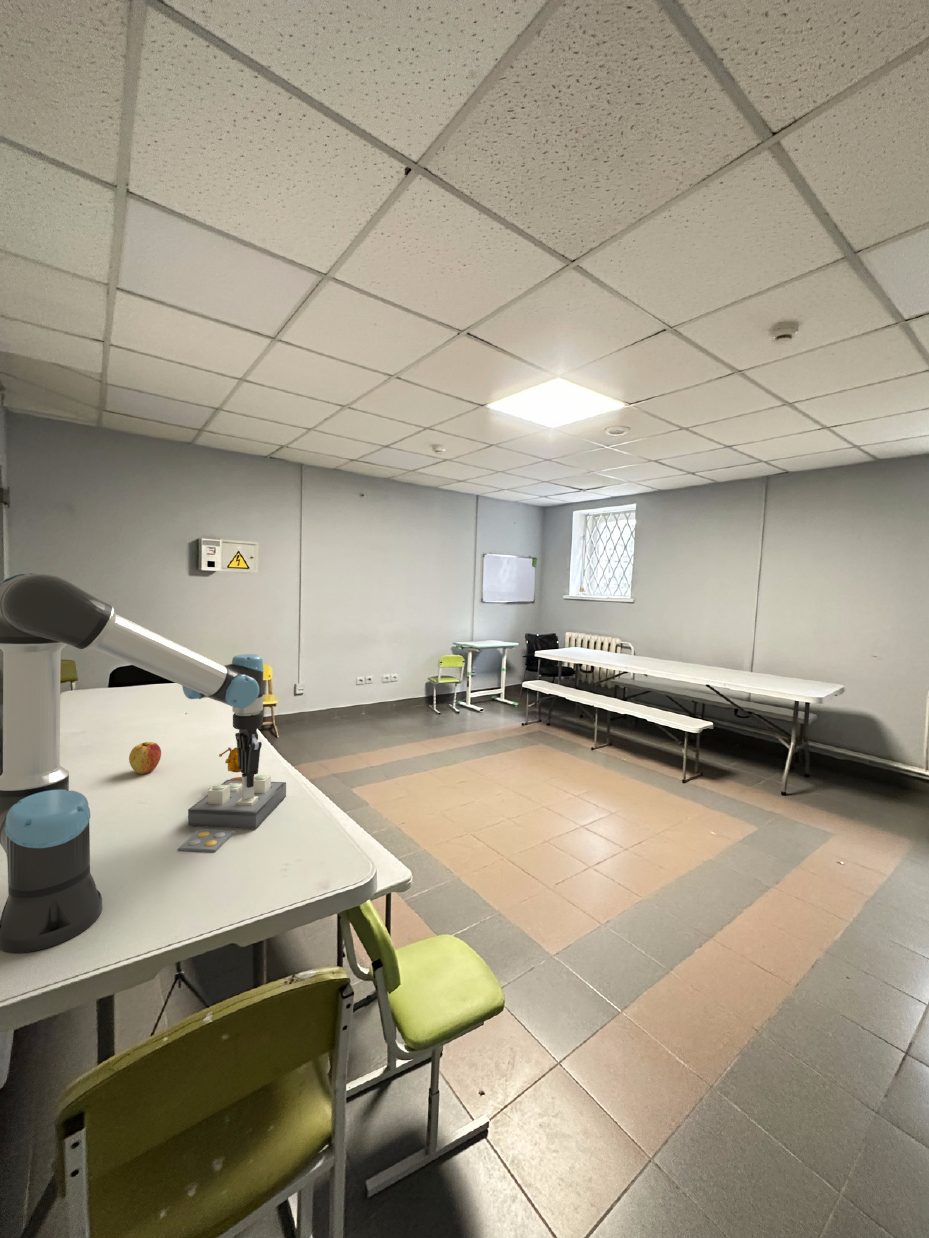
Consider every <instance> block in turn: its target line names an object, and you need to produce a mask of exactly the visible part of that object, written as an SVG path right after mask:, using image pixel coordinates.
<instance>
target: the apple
mask: <svg viewBox="0 0 929 1238" xmlns="http://www.w3.org/2000/svg"><path fill="white" fill-rule="evenodd" d="M161 757H162V750H161V747H160V745H159V744H158V743H156V742H154V741H145V742H141V743H139V744H136V746H134V747H133V748H132V749H131V751H130V752H129V757H128V762H129V765H130V767H131V768H132V769H133V771H134V772H135V773H136V774H139V775H145V774H148V773H152V772H154V770H155V769H156V768H157V767H158V765H159V763H160V761H161Z"/></svg>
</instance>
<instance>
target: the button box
mask: <svg viewBox="0 0 929 1238" xmlns="http://www.w3.org/2000/svg"><path fill="white" fill-rule="evenodd" d="M230 783H239V784H242V780H230V779H226V780H225V781H224V782H222V783H221V784H220V785H229V784H230ZM254 796H258V801H257V802H256V803H255V804H254V805H253V806H241V805H237V802H238V801H239V800H240V799H241V798H242V789H241V790H240V791H239V792H230V799H229V800H228V801H227V802H226V803H225V804H223V805H219V804H208V794H206V795H205V796H204V797H202V798H201V799H199V800H198V801H197V802H196V803H194V804H193V805H192V806H191V807H189V808H188V809H187V812H188V813H187V823H188V824H187V825H188V827H199V828H200V827H201V828H216V829H218V828H219V829H220V828H221V829H239V830H240V829H241V830H257V829H258V828H259V827H260V826H261V825H262V823H263V822H264V821H265V820H266V819H267V818H268V817H269V816H270V815H271V814H272V813H273V812H274V811H275V810H276V808H278V806H279V805H280V804H281V803H282V802H283V801H284V800H285V799H286V798H287V782H285V781H271V789H270V790H269V791H268V792H267V793H266V794H264V793H254ZM285 797H286V798H285ZM284 798H285V799H284Z"/></svg>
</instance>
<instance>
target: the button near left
mask: <svg viewBox="0 0 929 1238" xmlns="http://www.w3.org/2000/svg"><path fill="white" fill-rule="evenodd" d="M207 795H208V804H219V805H223V804H225V803H226V802H227V801H228V800H229V799H230V785H221V784H214V785H213V786H212V787H211V788H209V789H208V790H207Z"/></svg>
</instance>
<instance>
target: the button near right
mask: <svg viewBox="0 0 929 1238" xmlns="http://www.w3.org/2000/svg"><path fill="white" fill-rule="evenodd" d="M257 801H258V796H254V797H252V798H248V799H245V800H244V799H243V798H241V799H240V800H239V801H238V802H237V805H241V806H253V805H254V804H255V803H256V802H257Z"/></svg>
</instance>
